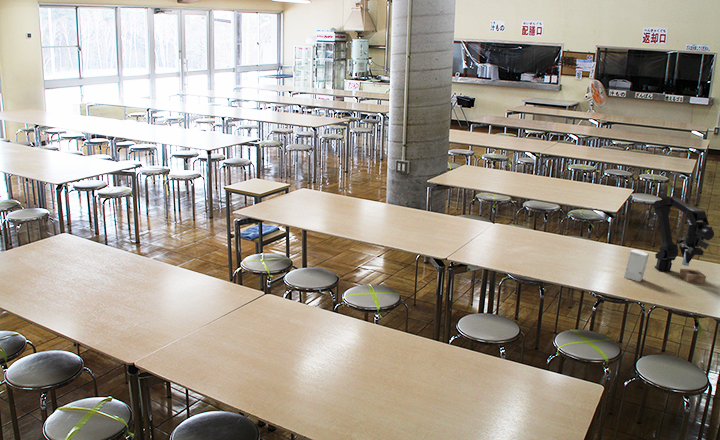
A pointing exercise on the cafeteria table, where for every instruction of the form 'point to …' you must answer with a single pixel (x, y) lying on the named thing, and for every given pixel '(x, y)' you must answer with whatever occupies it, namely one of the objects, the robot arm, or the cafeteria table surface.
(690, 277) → the socket block
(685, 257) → the peg
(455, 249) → the cafeteria table surface
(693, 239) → the robot arm
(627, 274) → the skincare box
